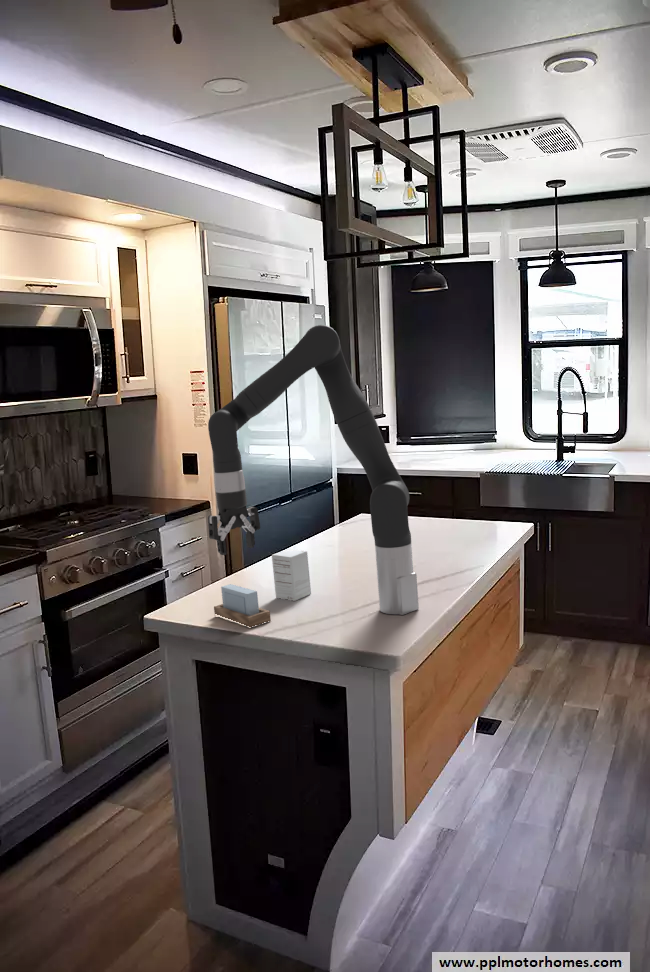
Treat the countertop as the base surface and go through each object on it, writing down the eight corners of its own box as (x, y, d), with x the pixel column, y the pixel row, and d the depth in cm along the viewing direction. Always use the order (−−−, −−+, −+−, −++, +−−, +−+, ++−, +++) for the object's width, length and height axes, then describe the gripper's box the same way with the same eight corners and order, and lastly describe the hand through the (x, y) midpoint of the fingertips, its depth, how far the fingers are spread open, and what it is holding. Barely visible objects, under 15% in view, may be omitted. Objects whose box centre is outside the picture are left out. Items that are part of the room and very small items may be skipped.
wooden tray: (270, 621, 204) (269, 610, 204) (250, 628, 200) (248, 617, 200) (235, 610, 216) (234, 600, 216) (214, 616, 212) (213, 606, 212)
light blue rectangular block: (259, 617, 205) (257, 591, 204) (249, 621, 203) (246, 594, 202) (233, 609, 214) (230, 584, 213) (223, 612, 212) (220, 586, 211)
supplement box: (292, 591, 230) (288, 548, 229) (312, 594, 226) (308, 550, 224) (274, 598, 225) (270, 554, 223) (294, 601, 220) (290, 556, 218)
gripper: (215, 494, 196) (222, 559, 198) (261, 485, 205) (268, 546, 207) (198, 492, 201) (205, 555, 204) (244, 483, 211) (251, 543, 213)
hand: (237, 551), depth 205 cm, fingers open, 8 cm apart
